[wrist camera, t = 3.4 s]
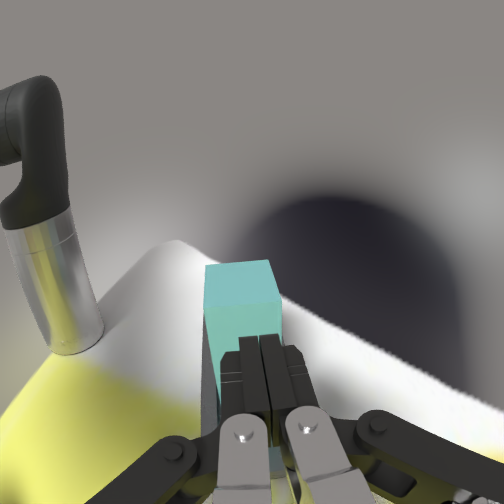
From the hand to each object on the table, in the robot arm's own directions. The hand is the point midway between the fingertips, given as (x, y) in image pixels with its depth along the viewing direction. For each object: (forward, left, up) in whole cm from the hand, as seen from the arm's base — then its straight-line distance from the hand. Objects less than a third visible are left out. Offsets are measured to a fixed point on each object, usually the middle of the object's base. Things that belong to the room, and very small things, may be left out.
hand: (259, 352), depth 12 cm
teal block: (-9, +5, -15) cm, 18 cm away
